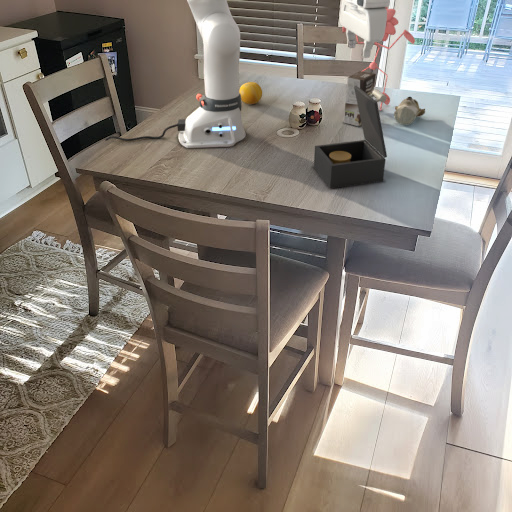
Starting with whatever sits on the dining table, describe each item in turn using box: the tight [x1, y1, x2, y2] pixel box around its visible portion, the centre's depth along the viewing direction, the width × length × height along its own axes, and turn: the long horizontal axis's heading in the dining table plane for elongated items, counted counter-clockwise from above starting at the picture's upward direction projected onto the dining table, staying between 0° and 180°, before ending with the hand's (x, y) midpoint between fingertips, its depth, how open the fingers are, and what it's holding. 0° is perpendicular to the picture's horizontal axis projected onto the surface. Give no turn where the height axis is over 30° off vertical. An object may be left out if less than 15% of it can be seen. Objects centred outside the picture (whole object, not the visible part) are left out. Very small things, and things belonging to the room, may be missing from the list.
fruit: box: [239, 81, 263, 105], centre depth 211 cm, size 9×8×8 cm
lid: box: [354, 86, 388, 159], centre depth 155 cm, size 17×14×5 cm
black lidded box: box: [313, 139, 387, 189], centre depth 161 cm, size 16×14×7 cm
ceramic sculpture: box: [393, 96, 426, 126], centre depth 194 cm, size 11×9×15 cm
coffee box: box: [343, 70, 377, 127], centre depth 192 cm, size 9×6×16 cm
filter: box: [329, 151, 351, 164], centre depth 162 cm, size 6×6×4 cm
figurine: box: [341, 7, 416, 111], centre depth 201 cm, size 15×26×35 cm, turn 71°
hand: (358, 52), depth 143 cm, fingers open, 8 cm apart
